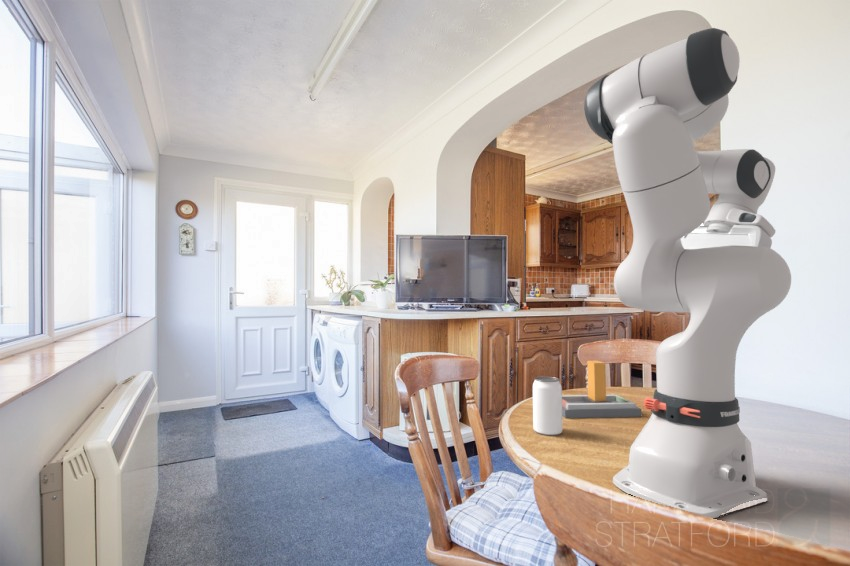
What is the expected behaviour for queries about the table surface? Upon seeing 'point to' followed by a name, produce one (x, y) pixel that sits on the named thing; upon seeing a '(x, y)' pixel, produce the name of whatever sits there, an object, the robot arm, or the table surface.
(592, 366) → the handle
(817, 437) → the table surface
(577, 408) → the grey tray
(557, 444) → the table surface
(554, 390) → the can
